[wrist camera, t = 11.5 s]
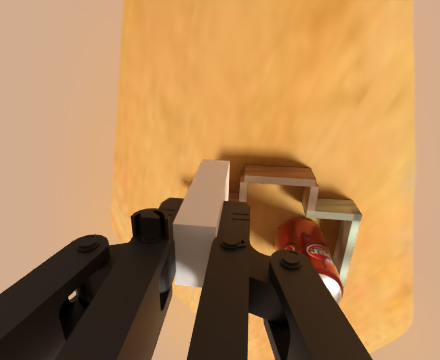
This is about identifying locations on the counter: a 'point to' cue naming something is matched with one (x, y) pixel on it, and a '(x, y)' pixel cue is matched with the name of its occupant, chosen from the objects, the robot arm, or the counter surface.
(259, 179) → the trap box
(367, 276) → the counter surface
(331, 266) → the soda can
